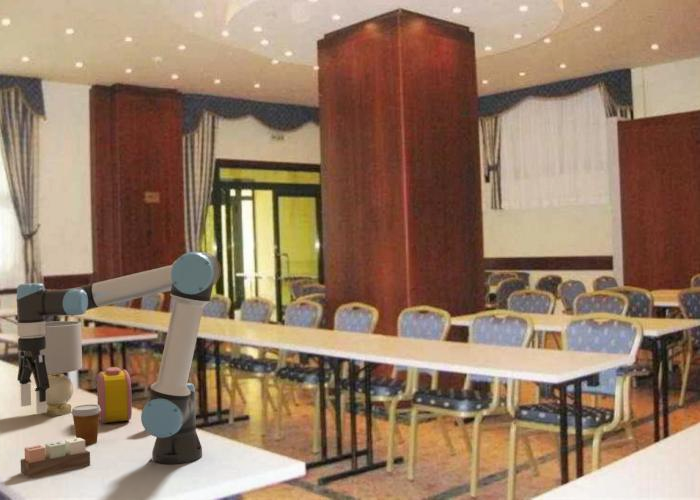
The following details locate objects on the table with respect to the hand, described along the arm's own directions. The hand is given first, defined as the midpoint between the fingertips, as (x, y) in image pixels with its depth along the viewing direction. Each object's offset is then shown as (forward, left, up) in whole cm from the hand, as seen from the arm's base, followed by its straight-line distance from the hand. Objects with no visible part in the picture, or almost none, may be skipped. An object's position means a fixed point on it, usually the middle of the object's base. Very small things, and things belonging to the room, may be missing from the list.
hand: (33, 409), depth 231 cm
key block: (0, -6, -19) cm, 20 cm away
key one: (0, -12, -16) cm, 20 cm away
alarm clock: (+48, -46, -19) cm, 69 cm away
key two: (0, -6, -16) cm, 17 cm away
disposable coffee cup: (+23, -25, -19) cm, 39 cm away
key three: (0, 0, -16) cm, 16 cm away
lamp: (+77, -35, -19) cm, 86 cm away
